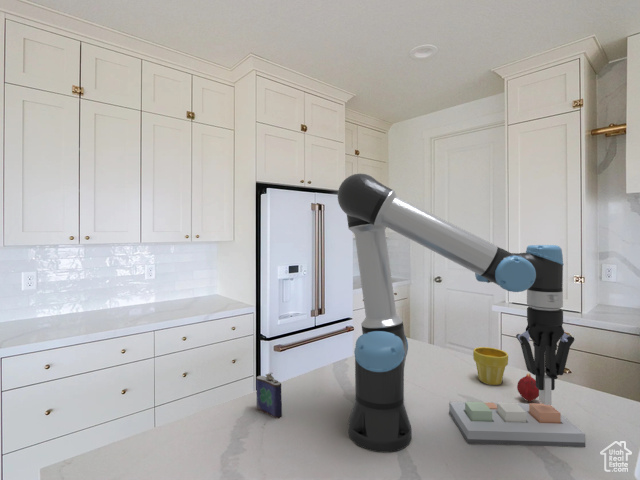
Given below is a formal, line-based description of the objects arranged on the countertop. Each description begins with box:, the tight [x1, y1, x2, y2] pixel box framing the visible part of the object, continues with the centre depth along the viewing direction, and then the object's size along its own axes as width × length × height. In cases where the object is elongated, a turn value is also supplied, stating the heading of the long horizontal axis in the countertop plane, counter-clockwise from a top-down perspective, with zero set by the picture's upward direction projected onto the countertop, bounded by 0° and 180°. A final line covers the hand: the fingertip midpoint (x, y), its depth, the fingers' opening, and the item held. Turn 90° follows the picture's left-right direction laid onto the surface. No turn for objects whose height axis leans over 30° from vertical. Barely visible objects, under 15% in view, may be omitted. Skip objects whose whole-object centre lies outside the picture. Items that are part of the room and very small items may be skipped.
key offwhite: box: [496, 402, 526, 423], centre depth 87 cm, size 5×5×3 cm
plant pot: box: [472, 346, 509, 386], centre depth 115 cm, size 10×10×10 cm
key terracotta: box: [528, 402, 562, 424], centre depth 86 cm, size 5×5×3 cm
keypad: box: [448, 401, 586, 448], centre depth 87 cm, size 26×14×3 cm, turn 87°
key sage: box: [464, 401, 492, 422], centre depth 87 cm, size 5×5×3 cm
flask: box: [255, 372, 283, 419], centre depth 96 cm, size 9×3×11 cm, turn 50°
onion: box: [516, 372, 539, 402], centre depth 101 cm, size 6×6×8 cm
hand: (545, 402), depth 86 cm, fingers closed
